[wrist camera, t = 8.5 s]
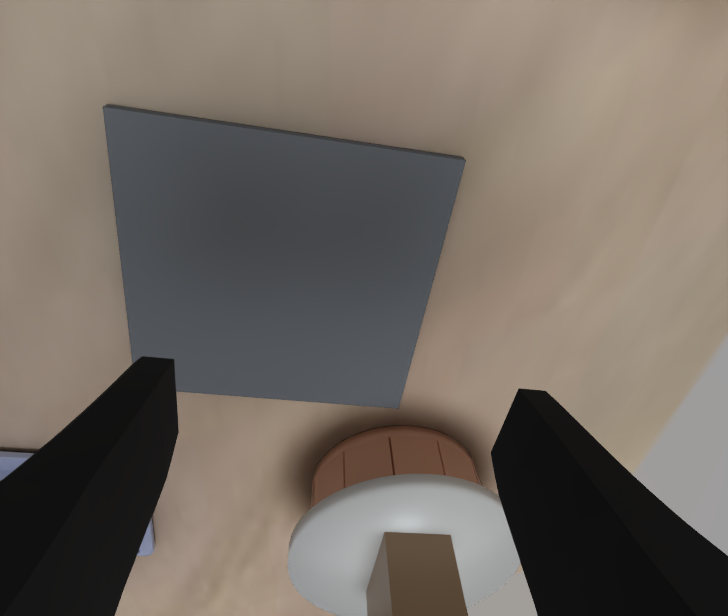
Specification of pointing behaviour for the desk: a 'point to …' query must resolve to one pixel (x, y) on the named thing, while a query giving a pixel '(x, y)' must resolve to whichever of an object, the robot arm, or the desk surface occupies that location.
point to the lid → (403, 547)
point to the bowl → (390, 458)
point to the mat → (276, 255)
